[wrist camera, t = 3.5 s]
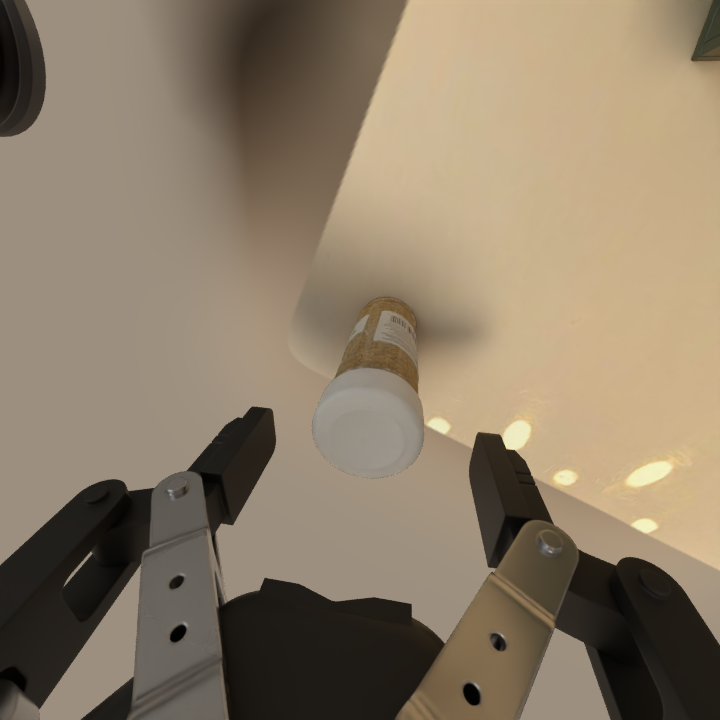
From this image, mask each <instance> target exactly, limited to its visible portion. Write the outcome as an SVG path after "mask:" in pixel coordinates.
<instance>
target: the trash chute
mask: <svg viewBox="0 0 720 720" xmlns="http://www.w3.org/2000/svg"><path fill="white" fill-rule="evenodd" d="M692 60H720V0H714V1H713V4H712V6H711V9H710V12H709V15H708V17H707V20H706V23H705V25H704V28H703V31H702V33H701V36H700V39H699V41H698V44H697V47H696V49H695V52H694V55H693V57H692Z"/></svg>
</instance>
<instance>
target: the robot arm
mask: <svg viewBox="0 0 720 720" xmlns="http://www.w3.org/2000/svg"><path fill="white" fill-rule="evenodd" d="M0 75H1V56H0ZM275 445H276V435H275V427H274V417H273V411H272V409H270V408H262V407H251V408H250V409H249V411H248V412H247V413H246V414H245V415H244V417H243V418H236V419H234V420H233V421H231V422H230V423H228V424H227V425H226V426H225V427H224V428H223V429H222V430H221V431H220V433H219V434H218V436H216V437H215V438H214V439H213V441H212V443H210V444H209V445H208V447H207V448H206V449H205V450H204V451H203V452H202V454H201V455H200V456H199V457H198V458H197V459H196V461H195V462H194V463H193V464H192V465H191V467H190V468H189V469H188V470H187V471H184V472H179V473H175V474H173V475H170V476H168V477H167V478H165V479H164V480H162V481H161V482H160V483H159V484H158V485H157V486H156V487H155V488H150V489H143V490H135V491H128V490H127V487H126V485H125V483H124V482H122V481H120V480H115V479H112V480H105V481H101V482H98V483H96V484H93V485H91V486H89V487H87V488H86V489H84V490H83V491H81V492H80V493H79V494H77V495H76V496H75V497H74V498H73V499H72V500H71V501H70V502H69V503H68V504H66V505H65V506H64V507H63V508H62V509H61V510H60V511H59V512H58V513H57V514H56V515H54V517H52V518H51V519H50V520H49V521H48V522H47V523H46V524H45V525H44V526H43V527H41V528H40V529H39V530H38V531H37V532H36V533H35V534H34V535H33V536H32V537H31V538H30V539H29V540H28V541H26V542H25V543H24V544H23V545H22V546H21V547H20V548H19V549H18V550H17V551H15V552H14V553H13V554H12V555H11V556H10V557H9V558H8V559H7V560H6V561H4V562H3V563H2V564H1V565H0V720H40V713H39V709H40V708H41V706H42V705H43V703H44V702H45V701H46V699H47V698H48V696H49V695H50V693H51V692H52V691H53V689H54V688H55V686H56V685H57V683H58V682H59V681H60V679H61V678H62V676H63V675H64V673H65V672H66V671H67V669H68V668H69V666H70V665H71V663H72V662H73V660H74V659H75V658H76V656H77V655H78V653H79V652H80V650H81V649H82V648H83V646H84V645H85V643H86V642H87V640H88V639H89V638H90V636H91V635H92V633H93V632H94V630H95V629H96V627H97V626H98V625H99V623H100V622H101V620H102V619H103V617H104V616H105V615H106V613H107V612H108V610H109V609H110V607H111V606H112V605H113V603H114V602H115V600H116V599H117V597H118V596H119V594H120V593H121V592H122V590H123V589H124V587H125V586H126V584H127V583H128V582H129V580H130V578H131V577H132V576H133V574H134V573H135V572H136V570H137V569H138V567H139V566H140V564H141V574H140V589H139V590H140V591H139V605H138V621H137V637H136V651H135V668H134V677H132V678H131V679H130V680H129V681H128V682H126V683H125V684H124V685H123V686H121V687H120V688H119V689H118V690H116V691H115V692H114V693H113V694H112V695H111V696H109V697H108V698H107V699H105V700H104V701H103V702H102V703H101V704H99V705H98V706H97V707H96V708H94V709H93V710H92V711H91V712H90V713H88V714H87V715H86V716H85V717H83V718H82V719H81V720H519V719H520V717H521V714H522V711H523V708H524V706H525V704H526V701H527V698H528V696H529V693H530V691H531V688H532V686H533V683H534V680H535V678H536V675H537V673H538V670H539V668H540V665H541V662H542V660H543V657H544V655H545V652H546V649H547V647H548V644H549V642H550V639H551V637H552V634H553V631H554V628H557V629H559V630H561V631H563V632H564V633H566V634H568V635H570V636H572V637H574V638H577V639H578V640H580V641H582V642H584V644H585V647H586V649H587V653H588V655H589V658H590V661H591V664H592V667H593V670H594V673H595V676H596V679H597V681H598V684H599V687H600V690H601V693H602V696H603V699H604V702H605V704H606V707H607V710H608V713H609V716H610V719H611V720H720V645H719V643H718V642H717V640H716V639H715V637H714V636H713V634H712V633H711V631H710V630H709V628H708V626H707V625H706V623H705V622H704V620H703V619H702V617H701V616H700V614H699V613H698V612H697V610H696V608H695V607H694V605H693V604H692V602H691V601H690V599H689V598H688V596H687V594H686V593H685V591H684V590H683V589H682V587H681V586H680V585H679V584H678V583H677V582H676V581H675V580H674V579H673V578H672V577H671V576H670V575H668V574H667V573H666V572H665V571H663V570H662V569H660V568H659V567H657V566H655V565H654V564H652V563H650V562H647V561H645V560H642V559H639V558H634V557H626V558H623V559H621V560H620V561H619V562H618V564H617V565H616V566H615V565H613V564H611V563H608V562H606V561H603V560H601V559H598V558H596V557H594V556H591V555H589V554H587V553H584V552H582V551H581V550H579V549H577V547H576V545H575V543H574V542H573V540H572V539H571V538H570V537H569V536H568V535H567V534H566V533H565V532H564V531H563V530H561V529H560V528H558V527H557V526H555V525H554V524H553V522H552V520H551V517H550V515H549V513H548V510H547V508H546V506H545V504H544V502H543V499H542V497H541V495H540V493H539V490H538V488H537V486H535V481H534V479H533V477H532V476H531V472H530V470H529V468H528V466H527V464H526V461H525V460H524V459H523V458H522V457H521V456H520V455H519V454H518V453H517V452H516V451H515V450H507V449H506V448H505V445H504V442H503V440H502V437H501V436H500V435H499V434H490V433H481V432H478V433H477V436H476V440H475V444H474V448H473V452H472V457H471V461H470V467H469V478H470V484H471V489H472V493H473V497H474V503H475V507H476V512H477V516H478V521H479V526H480V531H481V535H482V540H483V545H484V550H485V554H486V559H487V564H488V567H490V568H497V569H496V570H495V572H494V573H493V572H491V573H490V574H489V576H488V577H487V578H486V580H485V581H484V583H483V585H482V586H481V588H480V589H479V591H478V593H477V594H476V596H475V598H474V599H473V601H472V602H471V604H470V605H469V607H468V609H467V610H466V612H465V613H464V615H463V617H462V618H461V620H460V621H459V623H458V625H457V626H456V628H455V629H454V631H453V632H452V634H451V635H450V637H449V639H448V640H447V642H446V643H444V642H443V641H442V640H441V639H440V638H439V637H438V636H437V635H436V634H435V633H434V632H433V631H432V630H430V629H429V628H428V627H427V626H425V625H424V624H422V623H421V622H419V621H417V620H416V619H414V618H412V606H411V604H408V603H402V602H397V601H392V600H386V599H380V598H375V597H374V598H364V599H355V600H346V601H338V602H335V601H331V600H329V599H327V598H325V597H323V596H321V595H319V594H317V593H316V592H314V591H312V590H310V589H308V588H306V587H304V586H302V585H300V584H296V583H291V582H285V581H279V580H273V579H268V578H265V579H264V581H263V584H262V586H261V588H260V590H259V591H254V592H250V593H246V594H243V595H241V596H238V597H236V598H234V599H232V600H230V601H229V602H228V601H227V596H226V592H225V587H224V580H223V574H222V567H221V561H220V554H219V548H218V543H217V536H216V531H217V529H218V528H219V526H220V524H221V523H223V524H228V525H233V524H234V522H235V521H236V519H237V517H238V515H239V513H240V512H241V510H242V508H243V506H244V505H245V503H246V501H247V499H248V497H249V496H250V494H251V492H252V490H253V489H254V487H255V485H256V483H257V481H258V480H259V478H260V476H261V474H262V472H263V471H264V469H265V467H266V465H267V464H268V462H269V460H270V458H271V457H272V455H273V452H274V450H275ZM90 551H91V552H92V553H93V554H92V555H91V556H90V557H89V558H88V560H87V561H86V562H85V563H84V564H83V565H82V567H81V568H80V569H79V570H78V571H77V572H76V574H75V575H74V576H73V577H72V578H71V579H70V581H69V582H68V583H67V584H66V585H65V586H64V584H65V582H66V580H67V579H68V577H69V576H70V574H71V573H72V572H73V571H74V570H75V569H76V568H77V566H78V565H79V564H80V563H81V562H82V561H83V560H84V558H85V557H86V556H87V555H88V554H89V553H90ZM63 587H64V588H63Z"/></svg>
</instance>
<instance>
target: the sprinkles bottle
mask: <svg viewBox="0 0 720 720" xmlns="http://www.w3.org/2000/svg"><path fill="white" fill-rule="evenodd" d="M415 333H416V320H415V317H414V315H413V313H412V311H411V310H410V308H409V307H408V306H407V305H406V304H404V303H403V302H401V301H399V300H397V299H393V298H378V299H375V300H373V301H371V302H370V303H368V304H367V305H366V306H365V307H364V308H363V309H362V311H361V312H360V314H359V317H358V320H357V324H356V326H355V328H354V330H353V333H352V335H351V337H350V340H349V342H348V344H347V347H346V350H345V352H344V355H343V358H342V361H341V364H340V366H339V369H338V371H337V374H336V376H335V378H334V380H332V381H331V382H330V384H329V385H328V386H327V387H326V389H325V391H324V392H323V395H322V397H321V399H320V401H319V403H318V406H317V409H316V411H315V414H314V417H313V421H312V434H313V439H314V441H315V444H316V447H317V448H318V450H319V451H320V453H321V454H322V455H323V457H324V458H325V459H326V460H327V461H328V462H329V463H330V464H332V465H333V466H334V467H336V468H337V469H339V470H341V471H343V472H345V473H347V474H350V475H353V476H357V477H362V478H384V477H388V476H392V475H395V474H397V473H400V472H401V471H403V470H405V469H406V468H408V467H409V466H410V465H411V464H412V463H413V462H414V461H415V460H416V459H417V457H418V455H419V454H420V452H421V449H422V447H423V441H424V417H423V407H422V403H421V400H420V398H419V396H418V380H419V374H418V357H417V344H416V336H415Z"/></svg>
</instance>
